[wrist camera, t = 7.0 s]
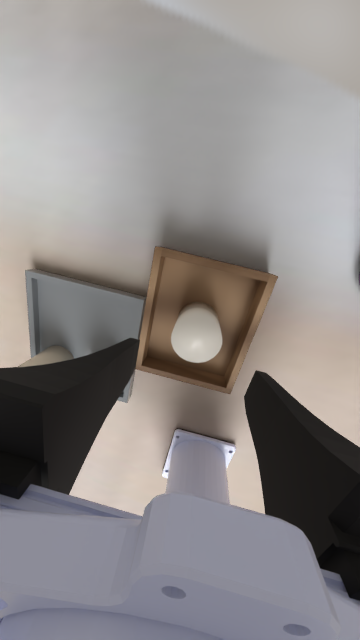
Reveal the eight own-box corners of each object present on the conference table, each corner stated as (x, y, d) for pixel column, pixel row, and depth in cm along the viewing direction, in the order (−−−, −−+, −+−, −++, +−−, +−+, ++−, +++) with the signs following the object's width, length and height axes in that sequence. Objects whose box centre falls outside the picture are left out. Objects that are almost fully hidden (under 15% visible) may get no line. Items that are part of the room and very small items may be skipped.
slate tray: (130, 395, 24) (127, 402, 23) (40, 371, 25) (32, 377, 23) (147, 297, 20) (143, 300, 18) (35, 268, 20) (25, 270, 19)
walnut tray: (227, 379, 22) (230, 394, 19) (141, 356, 22) (134, 368, 20) (268, 273, 17) (278, 276, 15) (161, 246, 18) (155, 246, 15)
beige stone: (74, 376, 24) (50, 400, 20) (45, 368, 24) (15, 391, 20) (75, 350, 22) (49, 370, 18) (44, 341, 22) (11, 360, 19)
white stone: (211, 343, 20) (213, 368, 16) (173, 333, 20) (166, 354, 16) (223, 308, 18) (229, 324, 14) (183, 296, 19) (177, 310, 14)
